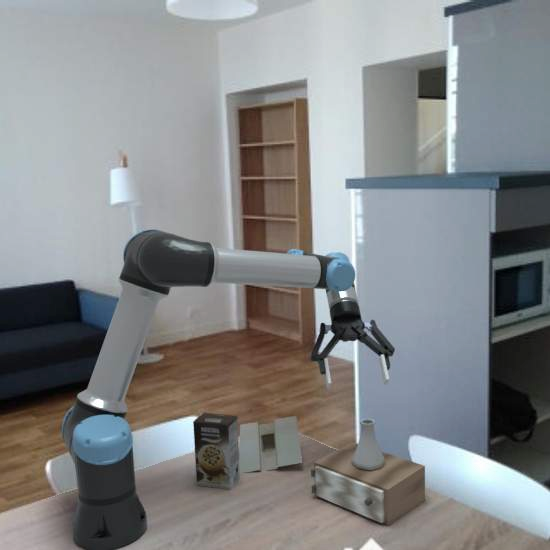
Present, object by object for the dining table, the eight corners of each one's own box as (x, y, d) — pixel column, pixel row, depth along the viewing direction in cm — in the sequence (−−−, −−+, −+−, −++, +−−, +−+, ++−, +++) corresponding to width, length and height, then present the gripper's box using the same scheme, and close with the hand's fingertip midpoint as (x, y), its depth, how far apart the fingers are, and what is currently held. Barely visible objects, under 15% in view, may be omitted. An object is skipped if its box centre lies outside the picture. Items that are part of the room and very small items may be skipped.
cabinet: (309, 498, 147) (308, 464, 146) (353, 473, 158) (352, 442, 157) (383, 529, 133) (382, 493, 132) (425, 499, 144) (424, 465, 143)
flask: (366, 453, 150) (365, 412, 148) (391, 463, 145) (390, 420, 143) (345, 464, 145) (344, 421, 144) (370, 474, 140) (369, 430, 138)
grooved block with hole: (309, 476, 166) (301, 422, 176) (304, 462, 160) (297, 407, 169) (246, 486, 167) (242, 433, 177) (238, 473, 161) (235, 418, 170)
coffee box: (195, 485, 155) (191, 421, 152) (206, 473, 161) (203, 411, 158) (231, 490, 152) (227, 424, 149) (241, 477, 158) (237, 414, 156)
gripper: (389, 312, 168) (407, 387, 156) (293, 318, 166) (303, 394, 153) (395, 296, 162) (413, 372, 150) (295, 302, 160) (306, 380, 147)
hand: (358, 383), depth 151 cm, fingers open, 13 cm apart
